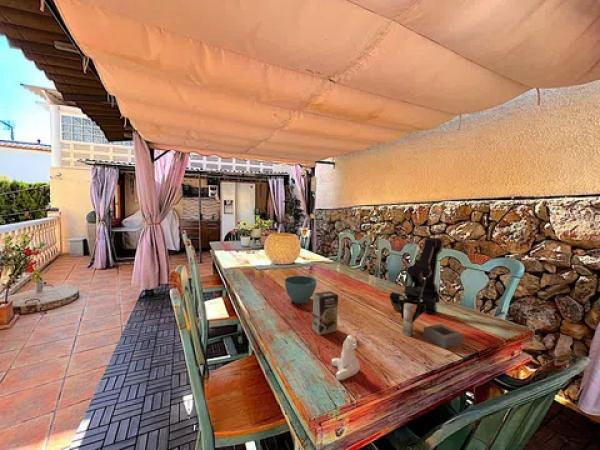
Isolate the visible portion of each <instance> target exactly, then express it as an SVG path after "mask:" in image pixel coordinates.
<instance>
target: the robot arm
mask: <svg viewBox="0 0 600 450" xmlns="http://www.w3.org/2000/svg"><path fill="white" fill-rule="evenodd" d="M442 239H443V238H439V237H428V238H426V239H424V244H423V249H422V251H421V255H420V258H419V259H418V260H417V261H416V262H415V263H413V265H410V266H408V267H407V270H406V271H407V275H408V279H409V280H410V281H411V282H410V285H404V290H403V293H404V296H405V298H404V297H402V296H401V295H400V294H401V293H398V292H394V291H393V292H390V295H389V299H391V300H390V302H391V301H392V303H395V304H399V306H401V307H400V308H401V309H400V313H401V314H400V315H401V316H400V317H401V319H402V320H403V316H404V304H412V305H414V306H416V308H415V309H414V316H413V319H412V321H413V323H414V322H415V321H416V320H417V319H418V318H420V316H421V315H422V314H428V315H433V314H438V313H439V312H438V306H437V303H440V301H441V300H440V294H439V291H438V287H437V284H436V273H437V267H438V266H437V265H438V257H439V255H440V254H441V253H442V252H443V248H444V246H445V241H444V240H442Z"/></svg>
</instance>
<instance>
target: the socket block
mask: <svg viewBox="0 0 600 450" xmlns="http://www.w3.org/2000/svg"><path fill="white" fill-rule="evenodd" d="M422 332H423V335H422V337H423V338H425V339H426V340H428V341H430V342H432V343H434V344H436V345H438V346H440V347H441V348H443V349H449V348H451V347H456V346H459V345H463V338H464V334H463V333H461V332H459V331H457V330H456V329H455V330H454V329H452V328H450V327H449V326H446V325H444V324H441V323H439V324H434V325H428V326H424V327H423V330H422Z"/></svg>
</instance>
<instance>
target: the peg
mask: <svg viewBox="0 0 600 450" xmlns="http://www.w3.org/2000/svg"><path fill="white" fill-rule="evenodd" d="M414 313H415V305H414V304H410V303H406V304H404V316H403V319H402V320H403V321H402V334H403V335H404V336H407V337H412V336H413V334H414V322H413V321H412V319H413V316H414Z"/></svg>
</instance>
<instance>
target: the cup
mask: <svg viewBox="0 0 600 450" xmlns="http://www.w3.org/2000/svg"><path fill="white" fill-rule="evenodd" d="M399 294H400V295H401V296H402V297H404V298H406V296H405V294H402V293H399ZM389 299H390V298H389ZM390 305H392V308H393V310H394V311H401V306H399V304H395V303H392V301H391V299H390Z"/></svg>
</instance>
